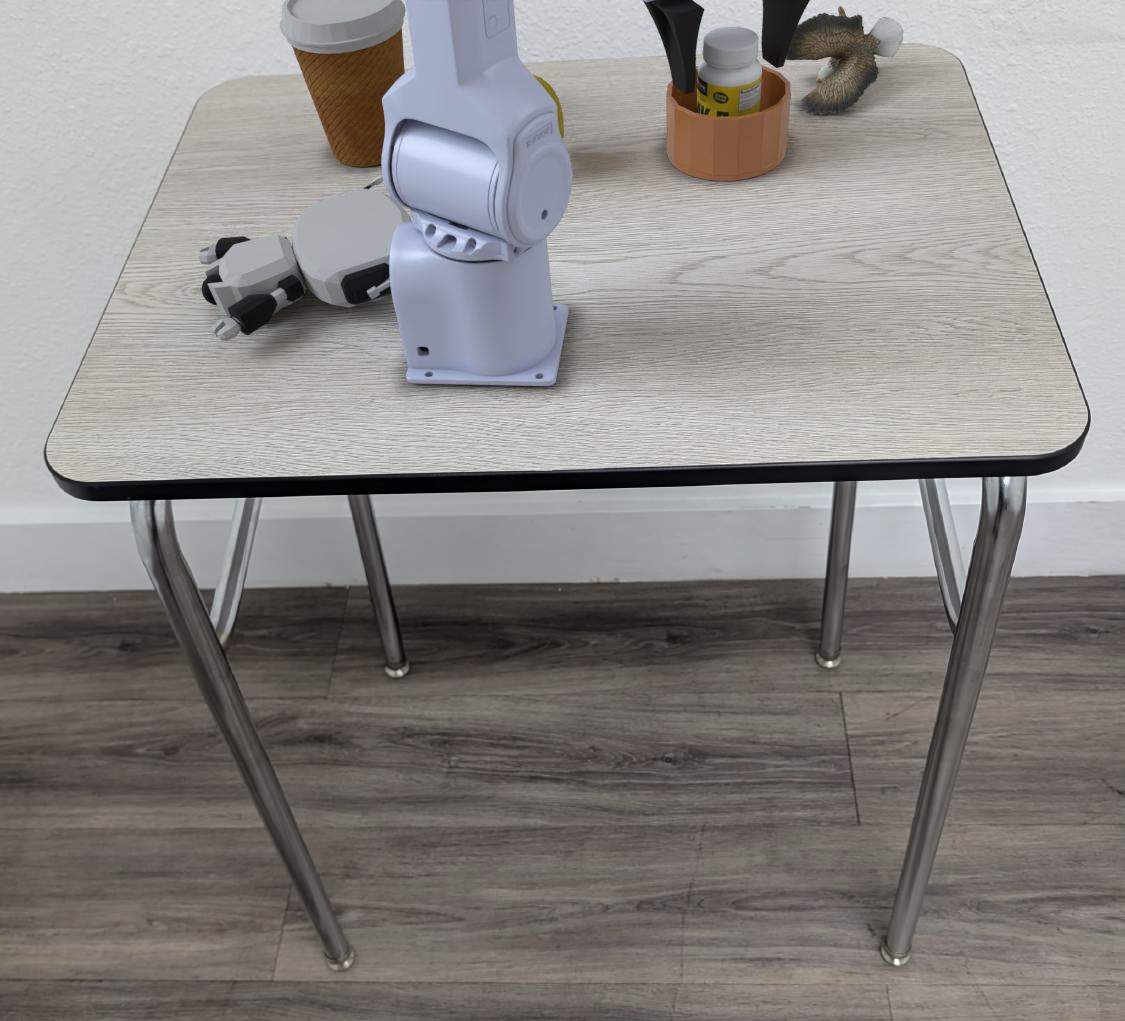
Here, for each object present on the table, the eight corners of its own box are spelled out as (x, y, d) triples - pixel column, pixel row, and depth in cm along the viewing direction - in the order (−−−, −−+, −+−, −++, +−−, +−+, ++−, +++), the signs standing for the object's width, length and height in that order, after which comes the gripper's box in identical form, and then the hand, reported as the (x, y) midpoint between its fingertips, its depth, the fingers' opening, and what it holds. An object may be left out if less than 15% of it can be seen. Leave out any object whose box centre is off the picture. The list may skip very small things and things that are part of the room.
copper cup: (664, 181, 84) (663, 119, 80) (670, 122, 90) (669, 62, 87) (787, 181, 83) (792, 118, 79) (784, 121, 89) (789, 60, 85)
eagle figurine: (809, 43, 96) (758, 65, 90) (864, -24, 90) (815, -5, 84) (867, 108, 95) (820, 135, 90) (926, 45, 90) (881, 69, 84)
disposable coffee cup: (293, 171, 89) (252, 22, 81) (345, 115, 95) (311, -29, 87) (400, 183, 87) (369, 30, 78) (446, 125, 93) (422, -23, 84)
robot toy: (228, 379, 73) (444, 308, 74) (202, 325, 69) (428, 252, 71) (208, 280, 81) (403, 218, 83) (183, 227, 77) (387, 164, 79)
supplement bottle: (683, 145, 87) (684, 38, 81) (727, 123, 88) (730, 17, 82) (726, 166, 84) (730, 58, 78) (770, 144, 86) (777, 36, 80)
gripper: (666, -85, 68) (667, 122, 78) (865, -134, 71) (842, 71, 81) (615, -116, 73) (623, 83, 82) (805, -161, 76) (790, 36, 86)
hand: (728, 75), depth 82 cm, fingers open, 7 cm apart
